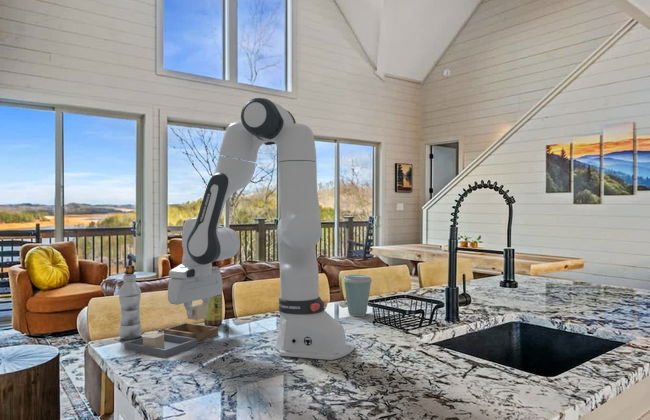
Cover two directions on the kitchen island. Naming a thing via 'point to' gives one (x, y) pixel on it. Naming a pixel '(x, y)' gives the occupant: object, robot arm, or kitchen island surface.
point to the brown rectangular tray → (193, 331)
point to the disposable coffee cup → (357, 293)
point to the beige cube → (154, 340)
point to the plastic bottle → (130, 308)
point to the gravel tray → (170, 345)
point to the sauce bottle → (214, 311)
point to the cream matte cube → (198, 312)
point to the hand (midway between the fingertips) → (197, 314)
